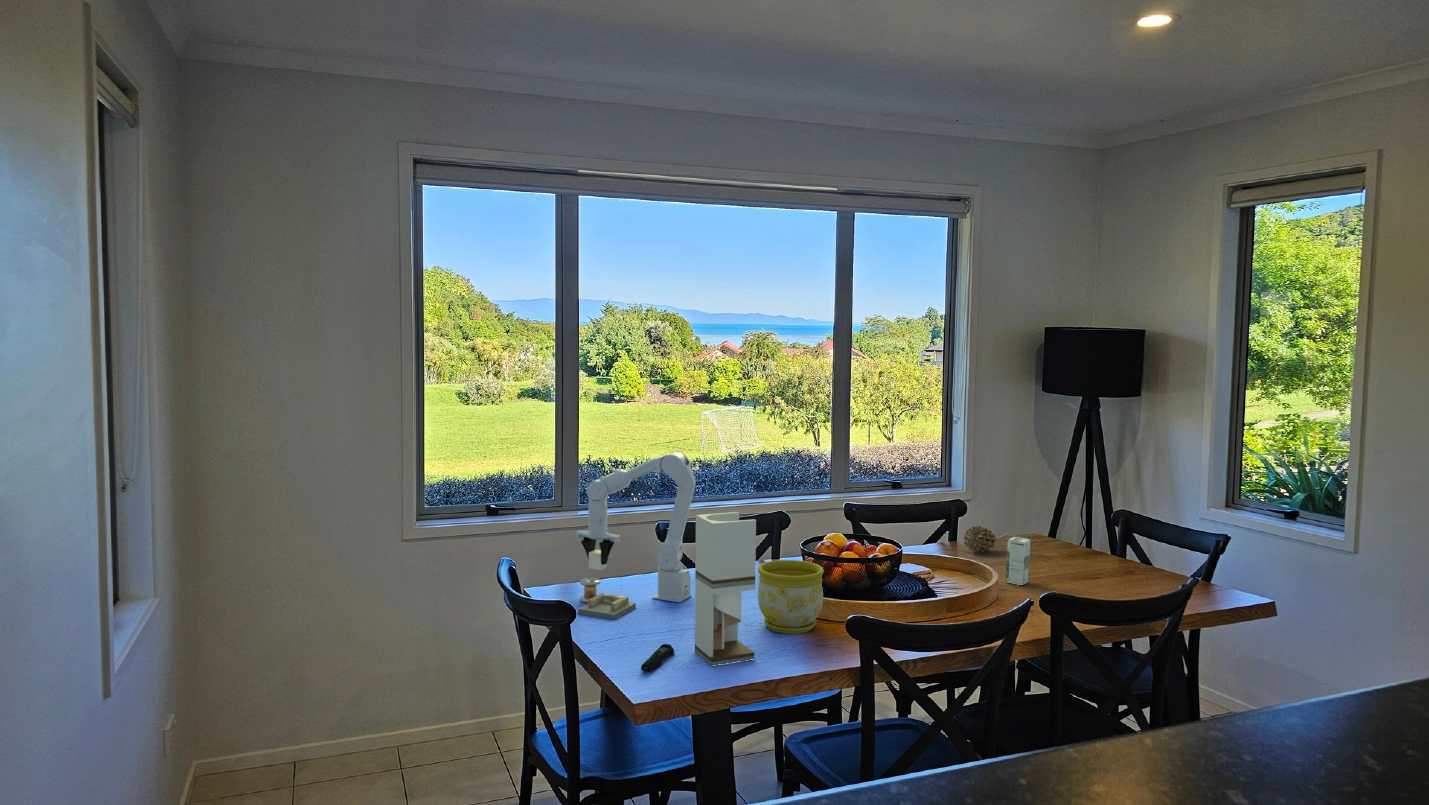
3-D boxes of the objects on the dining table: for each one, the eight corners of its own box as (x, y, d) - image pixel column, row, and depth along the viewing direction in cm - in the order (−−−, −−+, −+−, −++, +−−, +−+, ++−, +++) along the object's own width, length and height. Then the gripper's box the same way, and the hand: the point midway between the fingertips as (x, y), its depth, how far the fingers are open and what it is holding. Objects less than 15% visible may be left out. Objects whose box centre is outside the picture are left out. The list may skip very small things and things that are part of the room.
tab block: (606, 567, 281) (606, 551, 280) (600, 570, 277) (600, 553, 277) (595, 565, 282) (595, 549, 282) (588, 568, 279) (588, 552, 278)
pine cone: (976, 557, 329) (977, 530, 329) (956, 552, 338) (957, 525, 337) (1017, 549, 341) (1018, 523, 341) (996, 544, 350) (997, 519, 349)
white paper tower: (711, 667, 220) (712, 523, 217) (694, 652, 230) (695, 515, 227) (754, 660, 225) (756, 520, 222) (736, 646, 234) (737, 511, 232)
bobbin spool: (604, 598, 275) (604, 579, 274) (593, 604, 269) (593, 584, 269) (587, 596, 277) (587, 576, 277) (576, 601, 272) (576, 581, 271)
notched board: (635, 608, 266) (635, 596, 266) (614, 619, 255) (614, 607, 255) (600, 602, 271) (600, 591, 271) (578, 614, 260) (577, 602, 260)
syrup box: (1011, 579, 300) (1012, 536, 299) (1029, 582, 297) (1030, 538, 296) (1005, 583, 295) (1006, 539, 294) (1023, 586, 292) (1025, 542, 291)
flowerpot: (786, 612, 264) (787, 556, 262) (836, 627, 251) (837, 568, 249) (743, 626, 251) (744, 567, 250) (793, 642, 238) (794, 580, 237)
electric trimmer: (636, 675, 216) (636, 662, 215) (661, 652, 230) (661, 640, 230) (651, 677, 215) (651, 664, 214) (675, 654, 229) (675, 642, 229)
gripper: (570, 519, 278) (570, 563, 279) (611, 524, 272) (611, 569, 273) (583, 515, 284) (583, 558, 285) (623, 519, 278) (623, 563, 279)
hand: (597, 563), depth 280 cm, fingers closed on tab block, 4 cm apart
